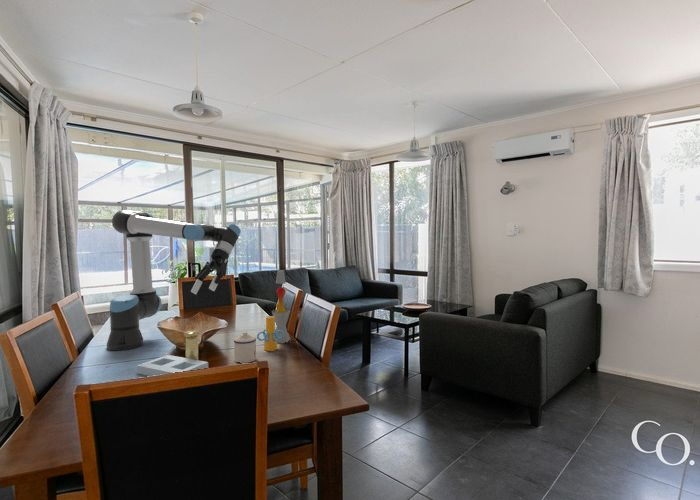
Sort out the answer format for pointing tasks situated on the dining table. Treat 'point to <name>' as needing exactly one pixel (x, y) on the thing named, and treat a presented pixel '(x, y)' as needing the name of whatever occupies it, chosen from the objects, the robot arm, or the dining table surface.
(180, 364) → the jig plate
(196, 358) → the brass sleeve
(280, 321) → the lava lamp
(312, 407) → the dining table surface
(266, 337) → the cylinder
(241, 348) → the teacup with lid
